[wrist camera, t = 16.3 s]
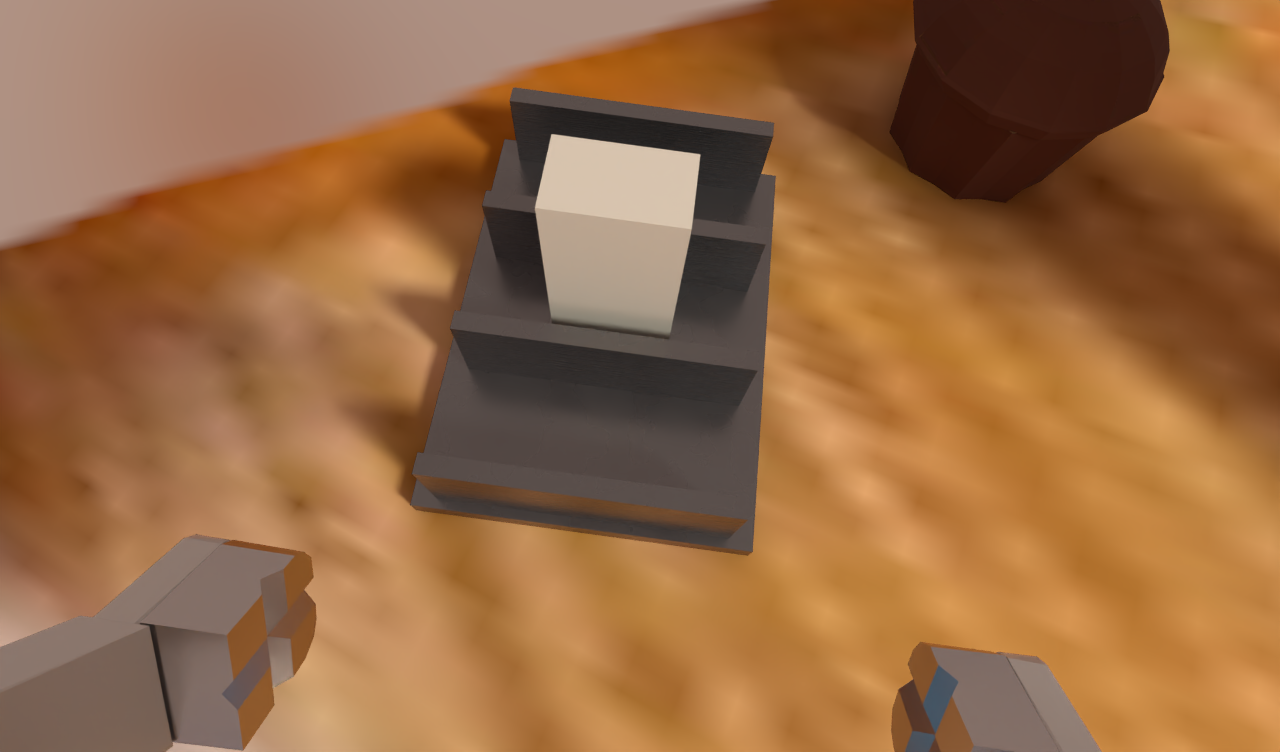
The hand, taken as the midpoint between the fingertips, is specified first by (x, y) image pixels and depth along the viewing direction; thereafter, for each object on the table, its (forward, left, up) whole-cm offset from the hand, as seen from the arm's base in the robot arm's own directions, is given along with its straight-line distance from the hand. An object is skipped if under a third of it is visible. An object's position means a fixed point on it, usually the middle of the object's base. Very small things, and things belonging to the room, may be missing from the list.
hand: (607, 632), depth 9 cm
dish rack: (-11, -9, -19) cm, 24 cm away
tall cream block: (-11, -9, -18) cm, 23 cm away
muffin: (-33, -2, -20) cm, 38 cm away
